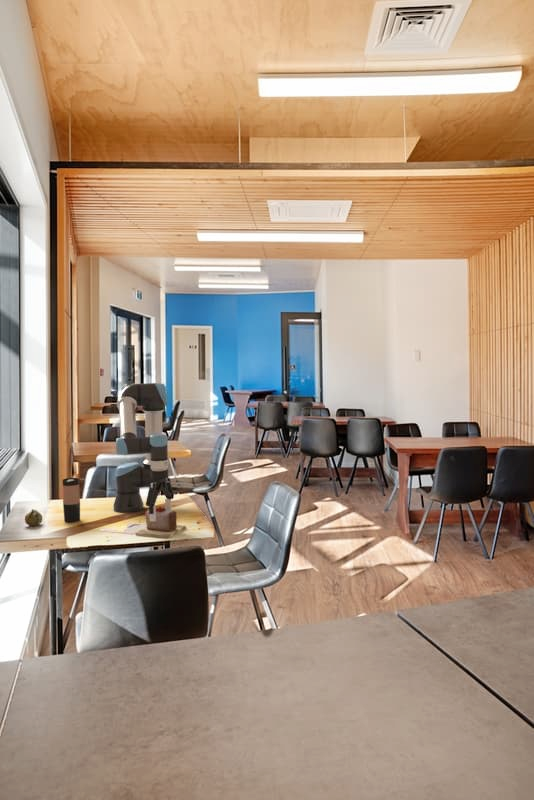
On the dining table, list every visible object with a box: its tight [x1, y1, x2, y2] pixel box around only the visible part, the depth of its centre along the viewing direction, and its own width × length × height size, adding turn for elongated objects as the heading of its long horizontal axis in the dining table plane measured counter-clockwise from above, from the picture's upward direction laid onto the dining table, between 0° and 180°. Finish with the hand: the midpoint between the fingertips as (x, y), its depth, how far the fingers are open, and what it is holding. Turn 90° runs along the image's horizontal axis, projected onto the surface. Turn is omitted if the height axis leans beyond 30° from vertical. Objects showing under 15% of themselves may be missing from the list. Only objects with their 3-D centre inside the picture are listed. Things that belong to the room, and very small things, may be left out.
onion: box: [24, 508, 43, 527], centre depth 276 cm, size 8×8×8 cm
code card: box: [98, 521, 147, 535], centre depth 270 cm, size 16×18×1 cm
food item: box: [144, 505, 178, 531], centre depth 262 cm, size 14×8×10 cm, turn 67°
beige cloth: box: [135, 524, 187, 539], centre depth 262 cm, size 16×16×1 cm
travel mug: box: [62, 477, 81, 524], centre depth 283 cm, size 8×8×20 cm
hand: (160, 517), depth 262 cm, fingers open, 13 cm apart
